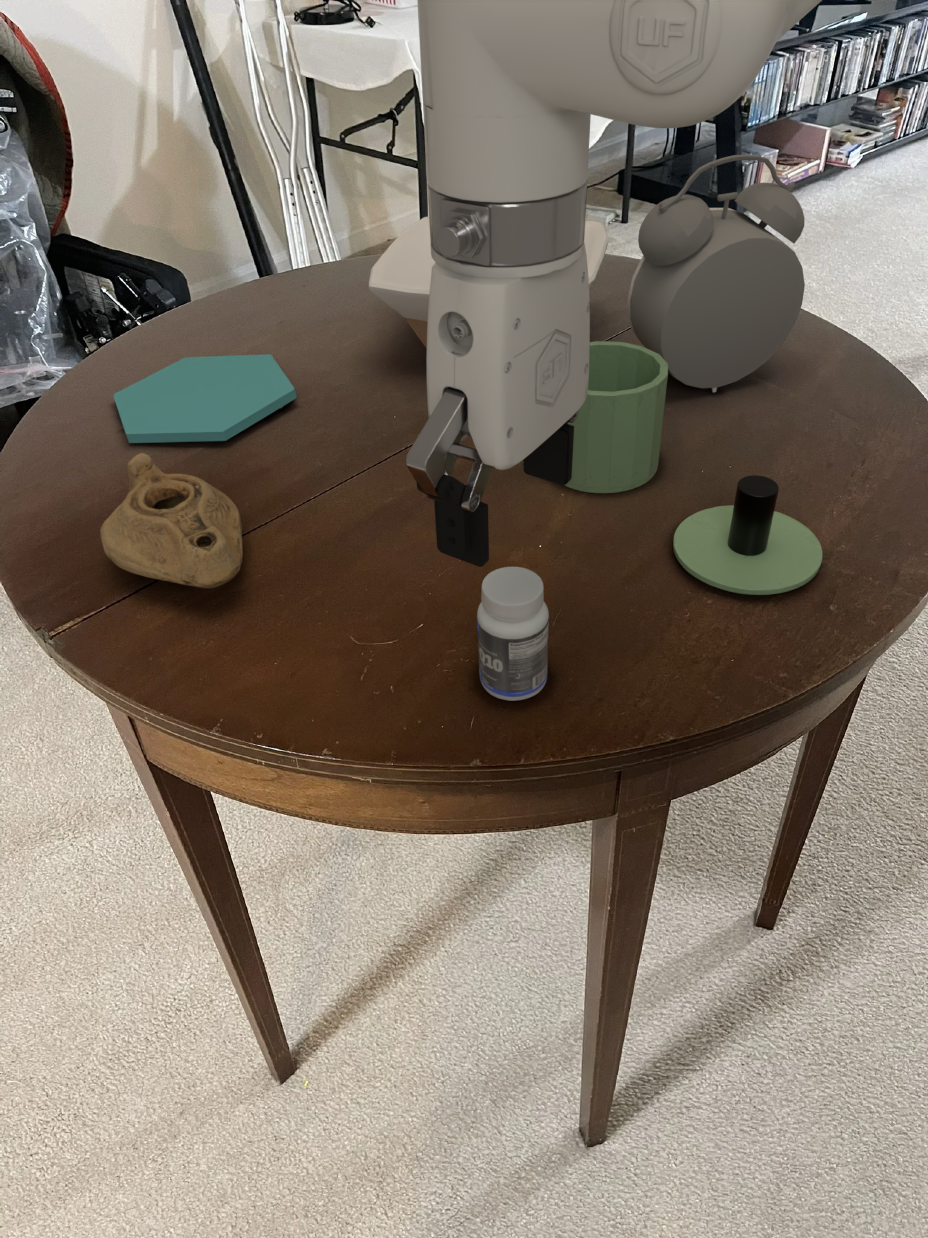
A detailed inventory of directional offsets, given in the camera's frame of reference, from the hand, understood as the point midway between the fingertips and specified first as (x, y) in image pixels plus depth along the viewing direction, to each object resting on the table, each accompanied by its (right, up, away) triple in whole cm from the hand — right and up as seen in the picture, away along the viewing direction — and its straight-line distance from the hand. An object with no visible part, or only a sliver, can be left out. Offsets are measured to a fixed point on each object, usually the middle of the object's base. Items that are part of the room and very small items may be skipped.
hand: (507, 515), depth 56 cm
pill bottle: (+1, -11, +9) cm, 14 cm away
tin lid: (+20, -1, +18) cm, 27 cm away
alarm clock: (+22, +18, +41) cm, 50 cm away
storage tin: (+10, +8, +30) cm, 33 cm away
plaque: (-30, +16, +42) cm, 54 cm away
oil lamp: (-25, -2, +20) cm, 32 cm away
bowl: (+1, +25, +51) cm, 57 cm away
